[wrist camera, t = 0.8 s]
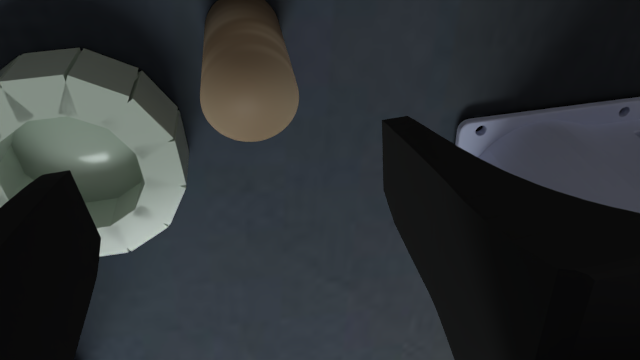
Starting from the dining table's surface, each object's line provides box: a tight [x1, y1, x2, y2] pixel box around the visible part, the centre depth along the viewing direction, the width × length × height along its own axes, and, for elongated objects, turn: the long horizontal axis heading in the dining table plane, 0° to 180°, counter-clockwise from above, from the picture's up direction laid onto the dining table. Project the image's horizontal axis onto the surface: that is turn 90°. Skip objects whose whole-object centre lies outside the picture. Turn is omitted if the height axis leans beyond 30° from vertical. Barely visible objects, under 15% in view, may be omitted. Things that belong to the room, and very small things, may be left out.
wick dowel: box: [200, 0, 299, 142], centre depth 17 cm, size 3×3×6 cm
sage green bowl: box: [0, 48, 189, 257], centre depth 20 cm, size 8×8×2 cm
